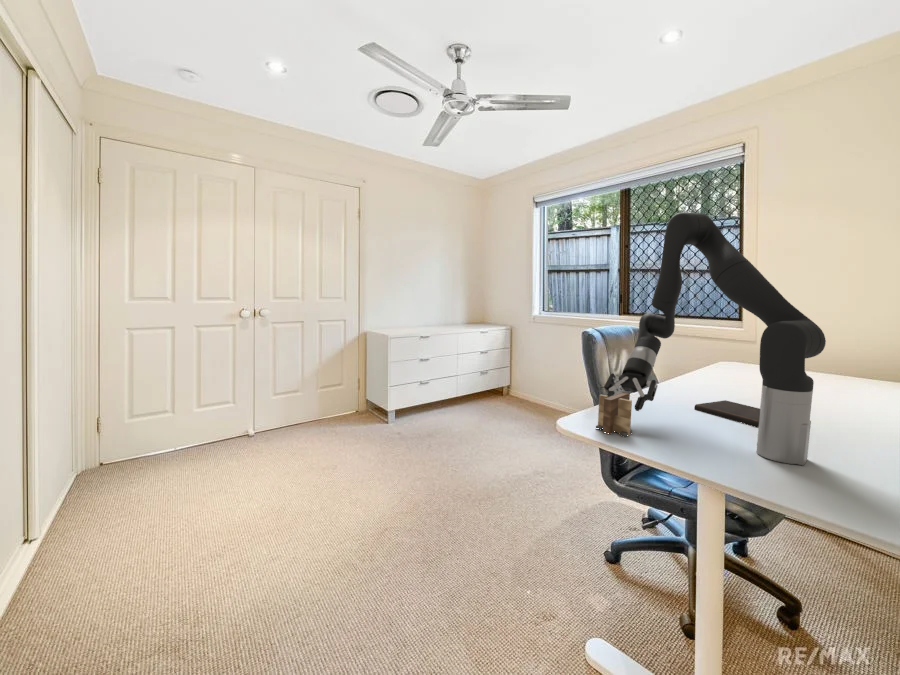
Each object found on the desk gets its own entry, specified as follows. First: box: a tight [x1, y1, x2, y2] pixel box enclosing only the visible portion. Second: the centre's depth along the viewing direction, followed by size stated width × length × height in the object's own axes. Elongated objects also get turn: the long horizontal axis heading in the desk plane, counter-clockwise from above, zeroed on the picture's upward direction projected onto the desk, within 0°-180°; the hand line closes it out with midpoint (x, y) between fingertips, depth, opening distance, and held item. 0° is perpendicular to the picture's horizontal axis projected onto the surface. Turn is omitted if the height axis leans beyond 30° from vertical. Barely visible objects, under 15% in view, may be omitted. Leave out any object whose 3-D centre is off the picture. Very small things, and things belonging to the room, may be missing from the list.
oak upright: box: [595, 394, 633, 437], centre depth 113 cm, size 9×4×10 cm, turn 42°
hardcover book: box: [694, 399, 760, 428], centre depth 128 cm, size 16×23×2 cm
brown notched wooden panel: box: [602, 391, 631, 435], centre depth 115 cm, size 2×12×10 cm, turn 132°
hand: (621, 406), depth 117 cm, fingers open, 8 cm apart
